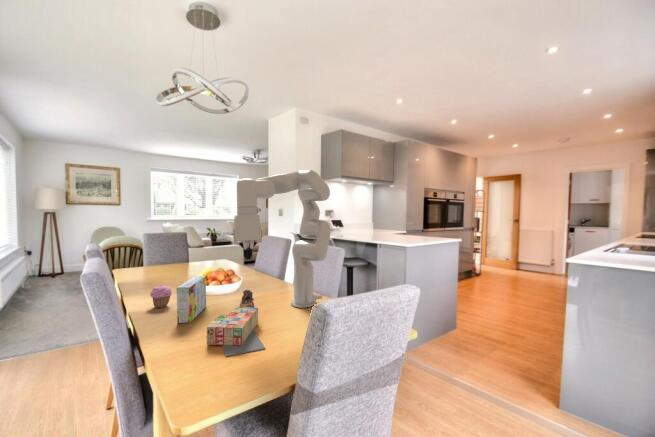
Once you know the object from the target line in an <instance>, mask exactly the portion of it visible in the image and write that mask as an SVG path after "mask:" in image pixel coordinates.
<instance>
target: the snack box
mask: <svg viewBox="0 0 655 437" xmlns="http://www.w3.org/2000/svg"><path fill="white" fill-rule="evenodd" d="M206 285H207V282H206V275H195V276H193V277H191V278H190V279H189V280H187V281H185V282H183V283H182V284H180V285H179V286H177V287H176V315H177V317H176V318H177V320H176V321H177V322H176V323H177V324H190V323H192V321H194V320H195V318H196V317H197V316H198V315H199V314H200V313H201V312H203V310H204V309H205V308H206V307H207V286H206Z"/></svg>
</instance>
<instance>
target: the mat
mask: <svg viewBox="0 0 655 437" xmlns="http://www.w3.org/2000/svg"><path fill="white" fill-rule="evenodd" d="M221 346H222V350H223V352H224V356H225V357H226V358H227V357H228V358H229V357H233V356H237V355H243V354H249V353H254V352H257V351H263V350H266V347H265V346H264V343H263V342H262V340H261V338H260V337H259V336H258V334H257V332H256V330H255V328H254V329H253V330H252V332H251V333H250V334H249V336H248V337H247V339H246V340H245V342H244V343H243V345H242V346H233V345H221Z"/></svg>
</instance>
